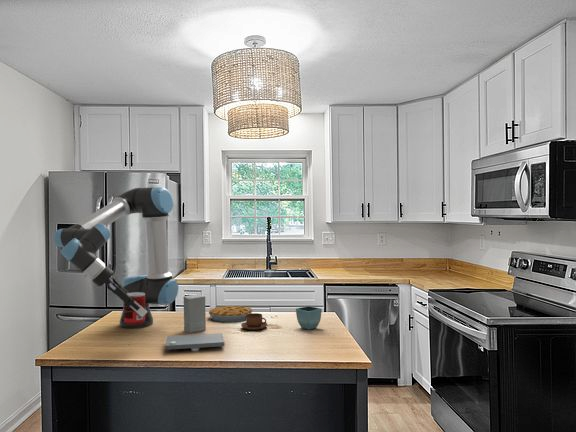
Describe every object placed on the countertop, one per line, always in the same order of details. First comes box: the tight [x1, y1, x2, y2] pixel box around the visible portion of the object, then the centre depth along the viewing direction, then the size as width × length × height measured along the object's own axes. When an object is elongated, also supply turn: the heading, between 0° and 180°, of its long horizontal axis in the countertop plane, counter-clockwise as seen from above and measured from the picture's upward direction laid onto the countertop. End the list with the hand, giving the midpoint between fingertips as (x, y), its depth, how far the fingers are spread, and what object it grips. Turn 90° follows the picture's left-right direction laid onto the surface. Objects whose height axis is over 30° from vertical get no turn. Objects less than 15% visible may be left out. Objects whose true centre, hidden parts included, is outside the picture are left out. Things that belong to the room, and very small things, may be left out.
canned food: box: [124, 292, 145, 325], centre depth 181 cm, size 8×8×11 cm
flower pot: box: [295, 305, 323, 330], centre depth 215 cm, size 9×9×9 cm
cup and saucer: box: [240, 312, 268, 331], centre depth 216 cm, size 12×12×6 cm
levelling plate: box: [165, 332, 226, 352], centre depth 186 cm, size 14×22×3 cm, turn 102°
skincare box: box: [183, 293, 207, 334], centre depth 212 cm, size 8×7×16 cm
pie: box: [208, 305, 253, 323], centre depth 238 cm, size 22×22×5 cm
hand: (143, 312), depth 183 cm, fingers closed on canned food, 8 cm apart
